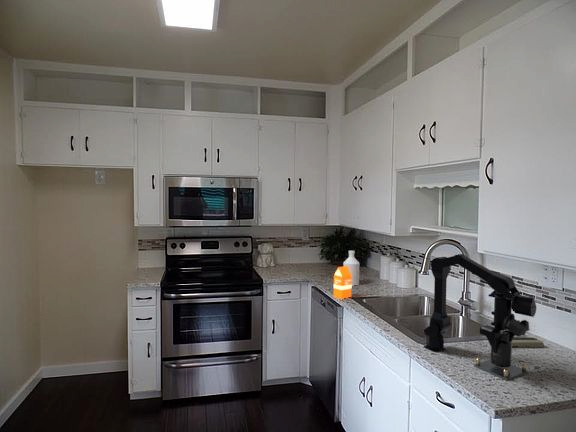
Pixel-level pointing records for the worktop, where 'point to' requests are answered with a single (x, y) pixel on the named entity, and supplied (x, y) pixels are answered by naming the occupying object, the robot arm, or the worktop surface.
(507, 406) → the worktop surface
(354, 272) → the bottle
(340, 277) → the orange juice
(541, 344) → the olive rectangular tray
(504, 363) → the supplement bottle
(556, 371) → the worktop surface
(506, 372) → the chassis plate
